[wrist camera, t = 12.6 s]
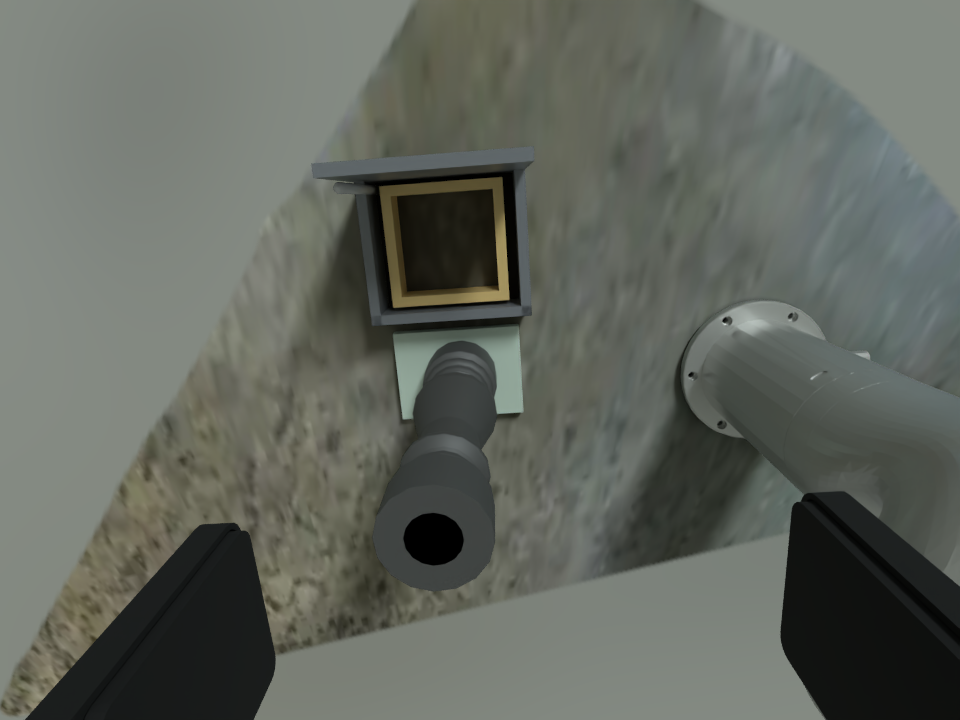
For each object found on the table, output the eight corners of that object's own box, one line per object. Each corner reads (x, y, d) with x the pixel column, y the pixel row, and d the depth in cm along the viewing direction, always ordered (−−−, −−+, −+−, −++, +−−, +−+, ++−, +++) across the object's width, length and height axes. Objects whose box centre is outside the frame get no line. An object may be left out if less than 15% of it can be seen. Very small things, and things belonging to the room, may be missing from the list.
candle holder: (507, 357, 49) (522, 510, 25) (479, 417, 51) (468, 613, 27) (443, 329, 49) (395, 458, 25) (416, 390, 50) (347, 567, 26)
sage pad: (518, 323, 50) (518, 326, 49) (522, 408, 52) (523, 412, 51) (394, 331, 50) (392, 334, 49) (404, 415, 52) (402, 419, 51)
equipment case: (521, 161, 46) (533, 146, 32) (528, 306, 49) (542, 347, 36) (363, 173, 46) (311, 163, 33) (381, 315, 50) (340, 360, 36)
